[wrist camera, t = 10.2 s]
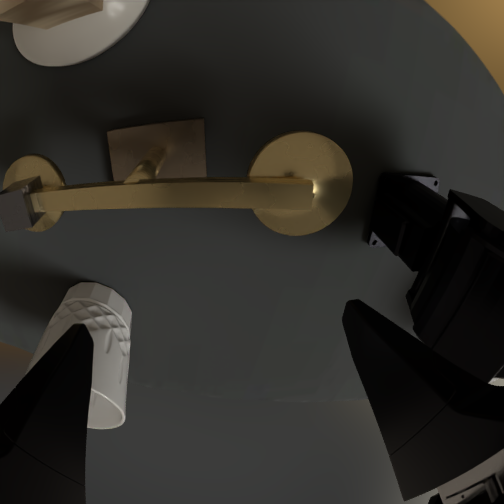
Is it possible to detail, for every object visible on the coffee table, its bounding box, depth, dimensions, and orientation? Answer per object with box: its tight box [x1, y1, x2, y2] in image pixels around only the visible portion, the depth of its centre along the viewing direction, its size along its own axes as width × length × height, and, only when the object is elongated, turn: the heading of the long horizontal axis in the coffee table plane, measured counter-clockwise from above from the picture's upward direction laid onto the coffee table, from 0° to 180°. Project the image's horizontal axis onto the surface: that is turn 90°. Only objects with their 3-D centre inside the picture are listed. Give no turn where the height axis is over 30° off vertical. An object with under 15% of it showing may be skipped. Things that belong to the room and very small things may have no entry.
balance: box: [0, 118, 353, 236], centre depth 13 cm, size 18×4×9 cm, turn 90°
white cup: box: [25, 282, 132, 429], centre depth 19 cm, size 8×8×10 cm
